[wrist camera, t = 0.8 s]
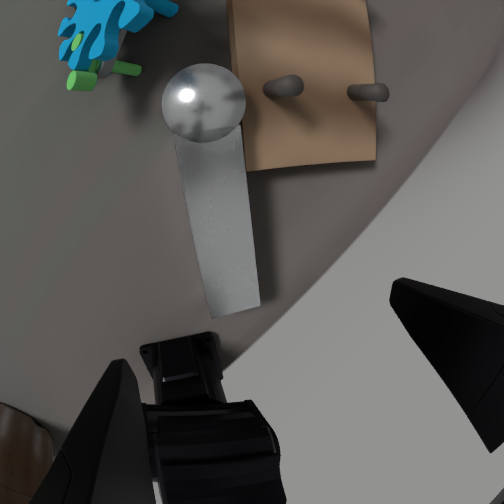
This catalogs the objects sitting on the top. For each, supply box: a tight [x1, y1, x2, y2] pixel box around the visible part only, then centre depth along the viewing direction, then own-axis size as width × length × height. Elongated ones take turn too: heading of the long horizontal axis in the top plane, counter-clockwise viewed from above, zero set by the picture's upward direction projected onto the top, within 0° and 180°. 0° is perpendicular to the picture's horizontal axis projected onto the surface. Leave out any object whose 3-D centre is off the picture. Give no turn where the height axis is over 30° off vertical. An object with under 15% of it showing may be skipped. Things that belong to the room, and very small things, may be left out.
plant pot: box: [0, 403, 53, 504], centre depth 15 cm, size 16×16×16 cm
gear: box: [58, 0, 179, 91], centre depth 10 cm, size 11×6×10 cm
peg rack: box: [226, 0, 389, 172], centre depth 13 cm, size 20×10×4 cm, turn 5°
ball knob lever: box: [162, 63, 261, 318], centre depth 17 cm, size 16×4×3 cm, turn 7°
